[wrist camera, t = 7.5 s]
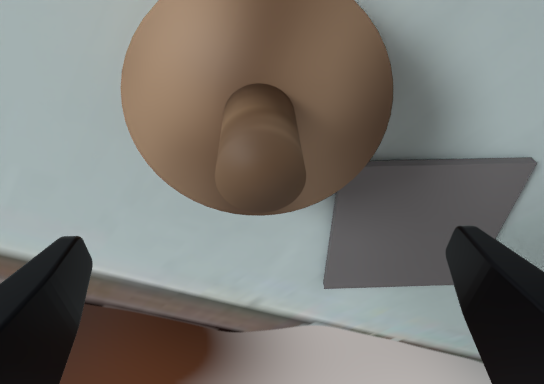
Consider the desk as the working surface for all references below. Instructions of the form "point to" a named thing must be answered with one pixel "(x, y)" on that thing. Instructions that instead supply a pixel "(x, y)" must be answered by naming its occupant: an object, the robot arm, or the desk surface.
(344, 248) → the trivet
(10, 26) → the desk surface
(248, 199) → the lid
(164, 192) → the desk surface
